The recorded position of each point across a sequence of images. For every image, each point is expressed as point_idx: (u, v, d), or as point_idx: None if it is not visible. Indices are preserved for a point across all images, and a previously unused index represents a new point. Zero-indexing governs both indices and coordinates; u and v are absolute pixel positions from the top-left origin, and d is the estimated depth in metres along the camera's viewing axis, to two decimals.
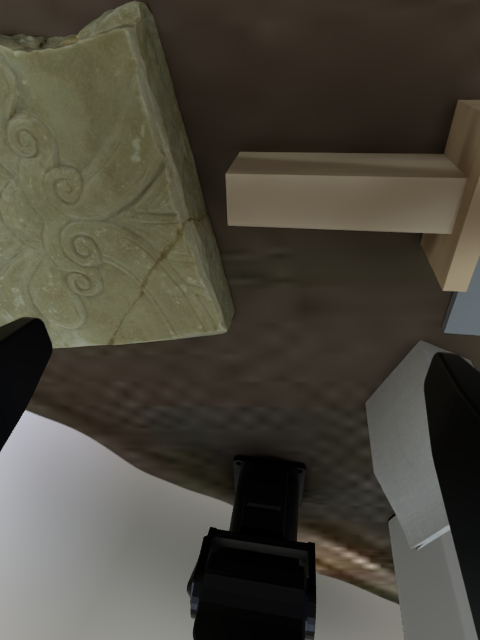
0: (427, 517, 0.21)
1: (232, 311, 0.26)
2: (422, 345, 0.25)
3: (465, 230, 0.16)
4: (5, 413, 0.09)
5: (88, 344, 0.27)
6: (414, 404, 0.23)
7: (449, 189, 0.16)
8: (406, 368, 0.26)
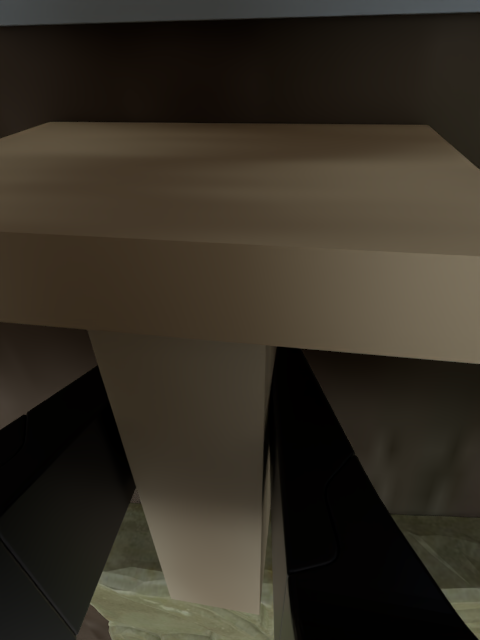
0: None
1: None
2: None
3: (191, 327, 0.04)
4: None
5: None
6: None
7: None
8: None
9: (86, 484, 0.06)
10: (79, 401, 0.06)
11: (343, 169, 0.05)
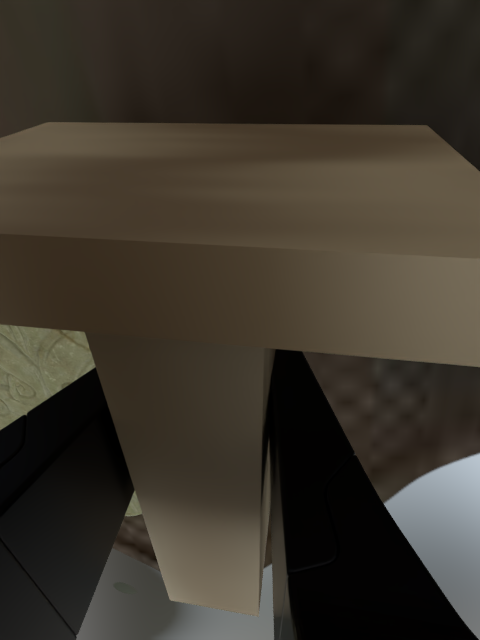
0: None
1: None
2: None
3: (187, 330, 0.04)
4: None
5: None
6: None
7: None
8: None
9: (86, 484, 0.06)
10: (79, 401, 0.06)
11: (342, 170, 0.05)
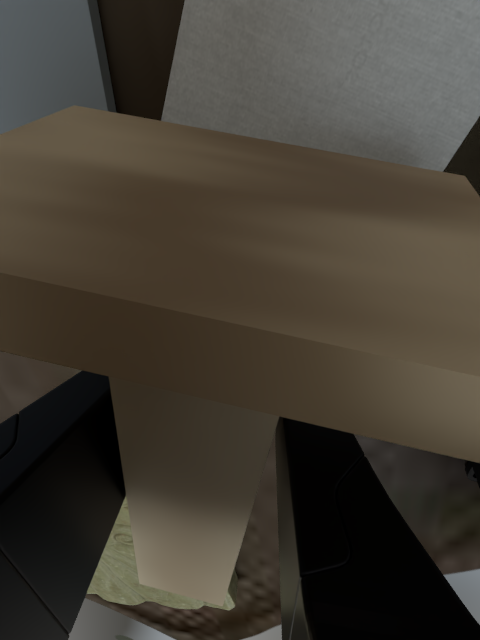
0: None
1: None
2: None
3: (229, 395, 0.04)
4: None
5: None
6: None
7: None
8: (235, 129, 0.10)
9: (78, 483, 0.06)
10: (71, 400, 0.06)
11: (390, 234, 0.05)
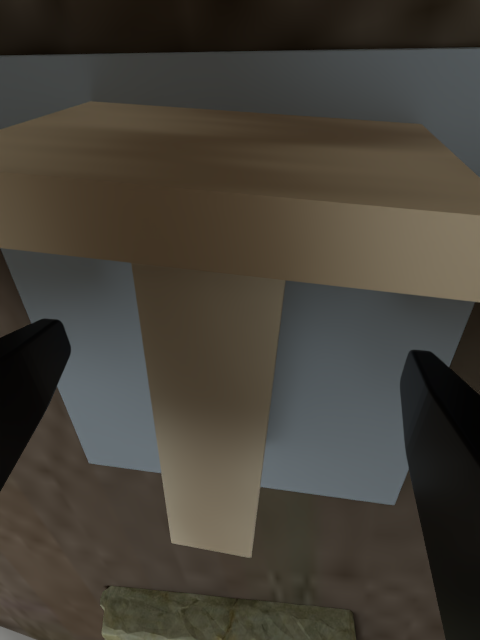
0: None
1: (341, 617, 0.24)
2: None
3: (235, 265, 0.05)
4: (26, 416, 0.08)
5: None
6: None
7: (159, 266, 0.06)
8: None
9: None
10: None
11: (353, 153, 0.06)
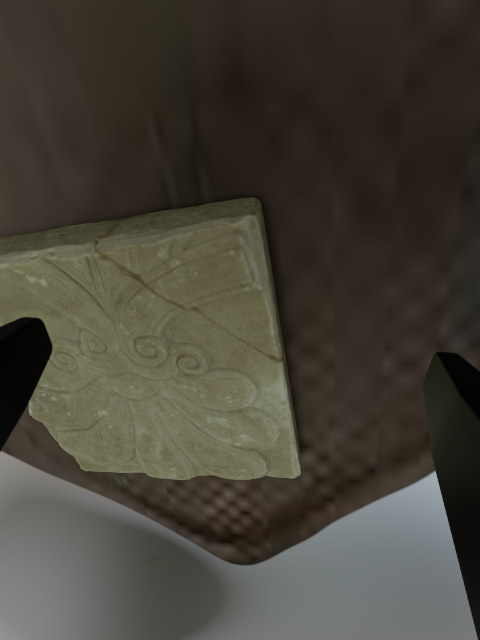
0: None
1: (245, 201, 0.19)
2: None
3: None
4: (5, 413, 0.09)
5: (280, 382, 0.23)
6: None
7: None
8: None
9: None
10: None
11: None
